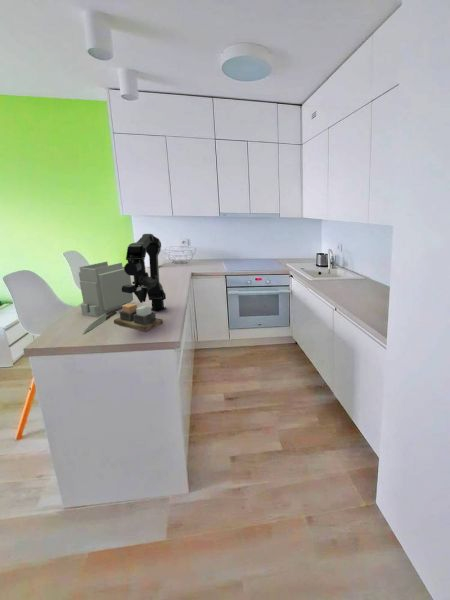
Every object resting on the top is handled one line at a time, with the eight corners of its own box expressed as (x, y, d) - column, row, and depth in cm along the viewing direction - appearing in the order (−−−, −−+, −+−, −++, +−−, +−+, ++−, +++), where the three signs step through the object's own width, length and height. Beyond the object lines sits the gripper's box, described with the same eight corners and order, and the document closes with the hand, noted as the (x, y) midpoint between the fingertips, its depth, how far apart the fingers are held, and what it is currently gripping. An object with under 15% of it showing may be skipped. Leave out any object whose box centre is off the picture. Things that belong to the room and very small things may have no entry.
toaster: (78, 313, 162) (70, 268, 154) (114, 300, 185) (109, 260, 177) (100, 317, 155) (92, 270, 147) (135, 303, 177) (129, 261, 169)
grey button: (144, 313, 145) (143, 305, 144) (151, 314, 142) (150, 307, 141) (137, 316, 141) (136, 308, 139) (144, 318, 138) (143, 310, 137)
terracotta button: (130, 310, 150) (129, 303, 148) (137, 311, 147) (136, 304, 146) (123, 313, 146) (122, 305, 144) (129, 314, 143) (128, 307, 142)
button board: (132, 316, 156) (131, 305, 154) (162, 323, 145) (161, 312, 143) (114, 323, 146) (112, 312, 144) (145, 331, 135) (144, 319, 133)
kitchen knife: (114, 307, 160) (79, 327, 132) (115, 307, 160) (81, 327, 132) (115, 315, 161) (81, 336, 133) (116, 315, 161) (83, 336, 133)
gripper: (136, 276, 123) (140, 310, 128) (165, 268, 138) (168, 299, 143) (118, 274, 129) (123, 306, 133) (148, 266, 144) (151, 296, 149)
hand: (142, 302), depth 139 cm, fingers closed
